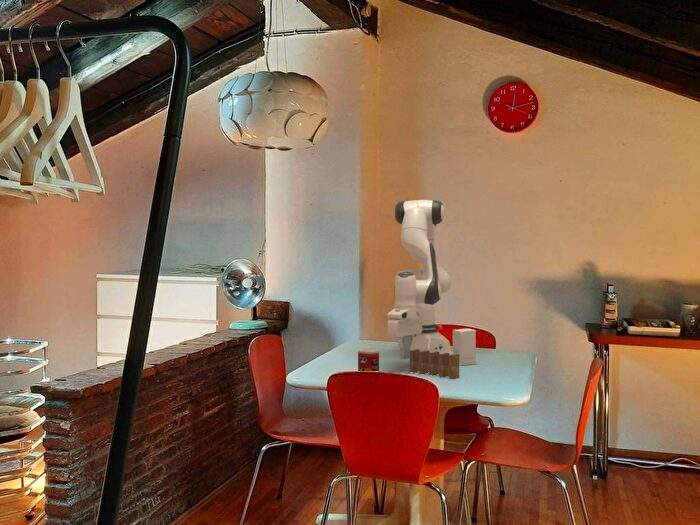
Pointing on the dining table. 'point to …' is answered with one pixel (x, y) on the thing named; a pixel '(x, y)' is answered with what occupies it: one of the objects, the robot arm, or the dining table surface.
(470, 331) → the skincare box
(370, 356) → the canned food
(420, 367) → the domino
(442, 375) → the domino
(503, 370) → the dining table surface
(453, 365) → the domino
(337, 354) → the dining table surface
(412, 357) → the domino
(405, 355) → the domino
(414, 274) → the robot arm
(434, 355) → the domino
